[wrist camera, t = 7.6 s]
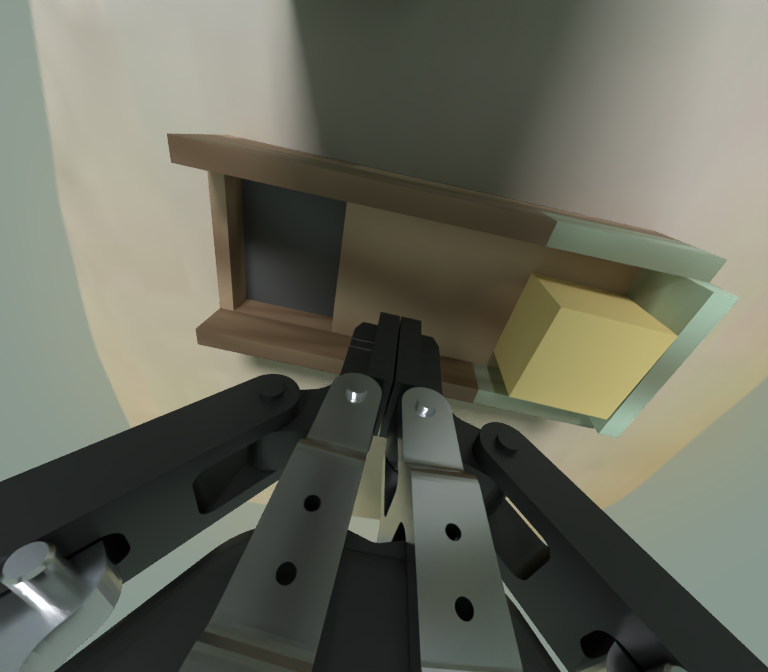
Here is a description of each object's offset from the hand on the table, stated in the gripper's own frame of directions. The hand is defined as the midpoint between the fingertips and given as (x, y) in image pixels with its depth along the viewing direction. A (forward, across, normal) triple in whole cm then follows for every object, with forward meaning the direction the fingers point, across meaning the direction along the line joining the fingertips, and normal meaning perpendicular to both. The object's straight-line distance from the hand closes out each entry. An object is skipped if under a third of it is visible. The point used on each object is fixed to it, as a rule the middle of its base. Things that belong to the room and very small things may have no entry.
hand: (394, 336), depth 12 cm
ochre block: (+6, -9, +1) cm, 11 cm away
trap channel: (+8, -1, +1) cm, 8 cm away
